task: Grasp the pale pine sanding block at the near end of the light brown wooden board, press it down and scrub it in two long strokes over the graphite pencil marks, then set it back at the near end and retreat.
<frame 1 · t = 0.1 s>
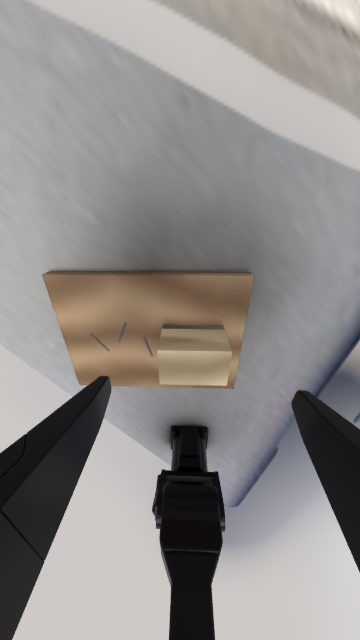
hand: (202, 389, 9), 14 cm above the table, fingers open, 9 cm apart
light brown wooden board: (153, 334, 25), on the table
sanding block: (192, 340, 23), point 1 cm above the table, touching light brown wooden board
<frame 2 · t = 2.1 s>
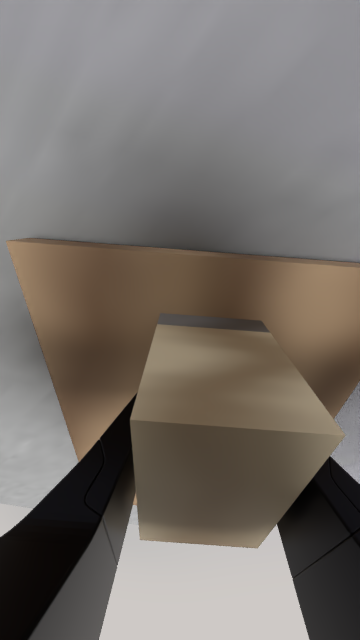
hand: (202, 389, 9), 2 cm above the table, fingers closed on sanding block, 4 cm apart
light brown wooden board: (191, 417, 13), on the table
sanding block: (201, 376, 10), point 1 cm above the table, touching gripper, light brown wooden board
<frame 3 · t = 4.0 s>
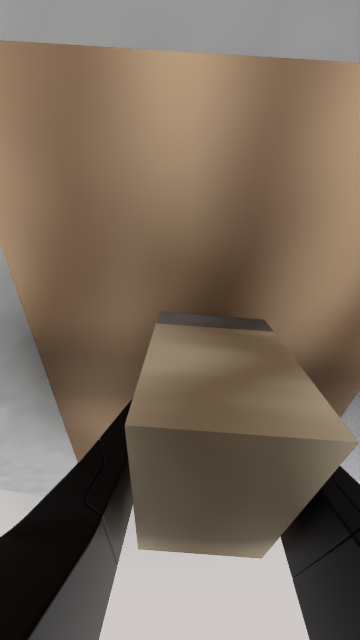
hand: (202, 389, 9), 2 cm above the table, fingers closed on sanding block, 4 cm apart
light brown wooden board: (200, 366, 11), on the table
sanding block: (202, 378, 10), point 1 cm above the table, touching gripper
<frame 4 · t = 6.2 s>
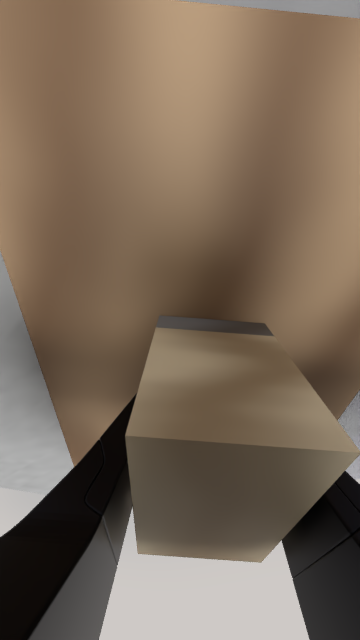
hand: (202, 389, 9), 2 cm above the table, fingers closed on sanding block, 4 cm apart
light brown wooden board: (199, 358, 11), on the table
sanding block: (201, 381, 10), point 1 cm above the table, touching gripper
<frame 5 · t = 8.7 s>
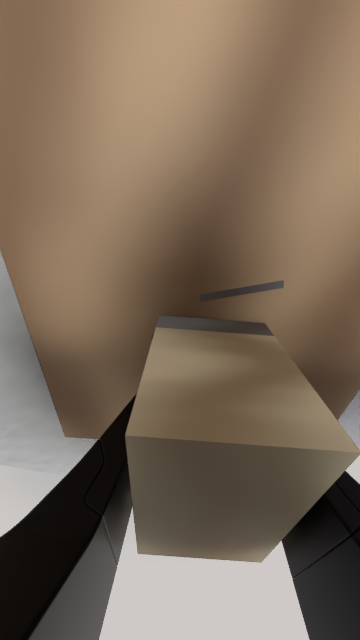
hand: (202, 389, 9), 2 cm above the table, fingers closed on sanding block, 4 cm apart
light brown wooden board: (213, 269, 8), on the table
sanding block: (201, 380, 10), point 1 cm above the table, touching gripper
when the fingers open (2 cm above the table, at t = 10.8 s): sanding block stays where it is, resting on light brown wooden board.
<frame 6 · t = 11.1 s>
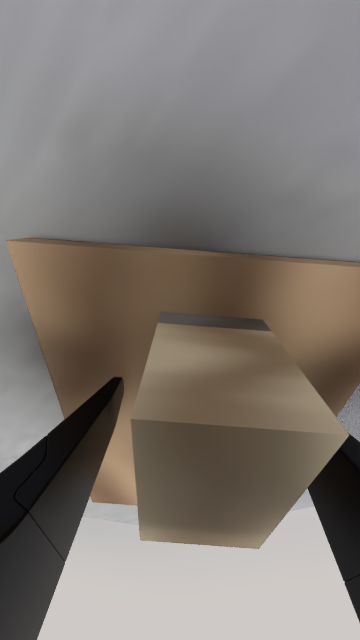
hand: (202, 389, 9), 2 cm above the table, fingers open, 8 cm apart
light brown wooden board: (191, 418, 13), on the table
sanding block: (201, 376, 10), point 1 cm above the table, touching light brown wooden board
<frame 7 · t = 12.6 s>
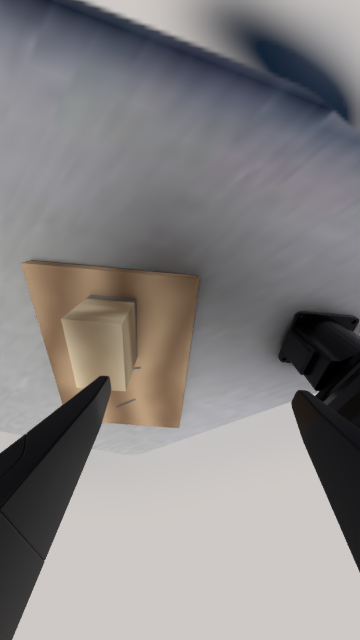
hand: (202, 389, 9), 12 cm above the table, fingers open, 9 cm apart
light brown wooden board: (121, 358, 24), on the table
sanding block: (116, 328, 20), point 1 cm above the table, touching light brown wooden board
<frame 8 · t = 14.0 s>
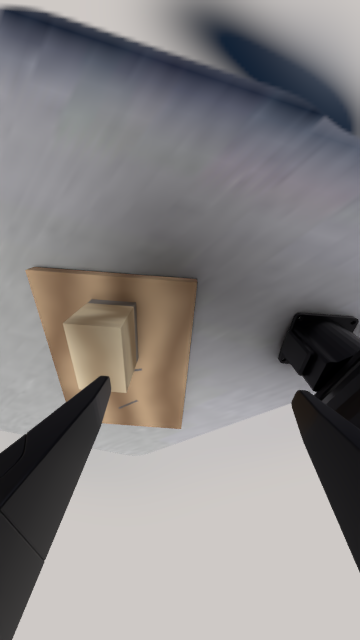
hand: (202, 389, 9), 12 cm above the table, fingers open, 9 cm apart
light brown wooden board: (123, 360, 24), on the table
sanding block: (116, 331, 21), point 1 cm above the table, touching light brown wooden board
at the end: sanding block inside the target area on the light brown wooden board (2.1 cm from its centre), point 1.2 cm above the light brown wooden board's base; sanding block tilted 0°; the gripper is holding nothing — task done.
